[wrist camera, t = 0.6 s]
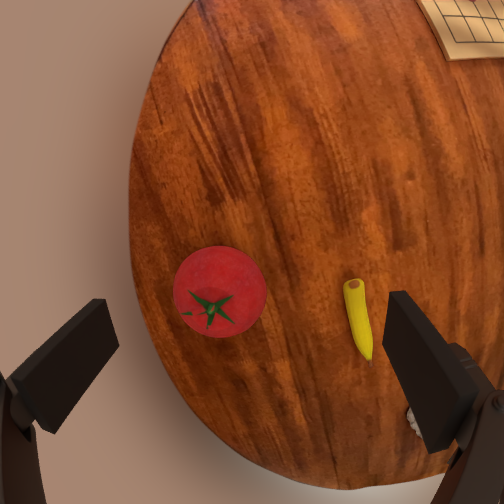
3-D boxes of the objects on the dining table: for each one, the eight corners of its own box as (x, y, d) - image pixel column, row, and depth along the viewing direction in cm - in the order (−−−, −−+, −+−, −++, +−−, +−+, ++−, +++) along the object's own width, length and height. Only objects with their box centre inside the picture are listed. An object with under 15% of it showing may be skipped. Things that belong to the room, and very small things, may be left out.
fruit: (370, 340, 32) (381, 366, 28) (353, 345, 33) (362, 372, 28) (355, 263, 30) (367, 282, 25) (335, 269, 30) (345, 290, 25)
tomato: (179, 301, 33) (154, 341, 25) (193, 226, 30) (165, 250, 22) (255, 322, 33) (249, 368, 25) (278, 249, 30) (277, 281, 22)
